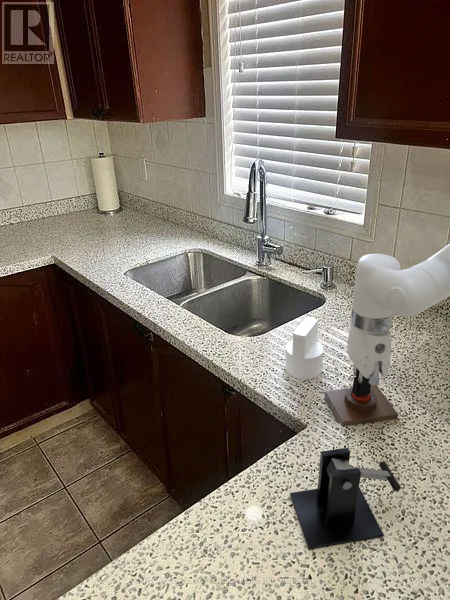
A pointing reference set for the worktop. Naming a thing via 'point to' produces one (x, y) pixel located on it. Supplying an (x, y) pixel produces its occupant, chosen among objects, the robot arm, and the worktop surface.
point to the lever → (366, 472)
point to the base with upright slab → (304, 351)
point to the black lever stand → (335, 507)
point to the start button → (361, 398)
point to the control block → (359, 407)
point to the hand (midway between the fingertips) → (360, 393)
